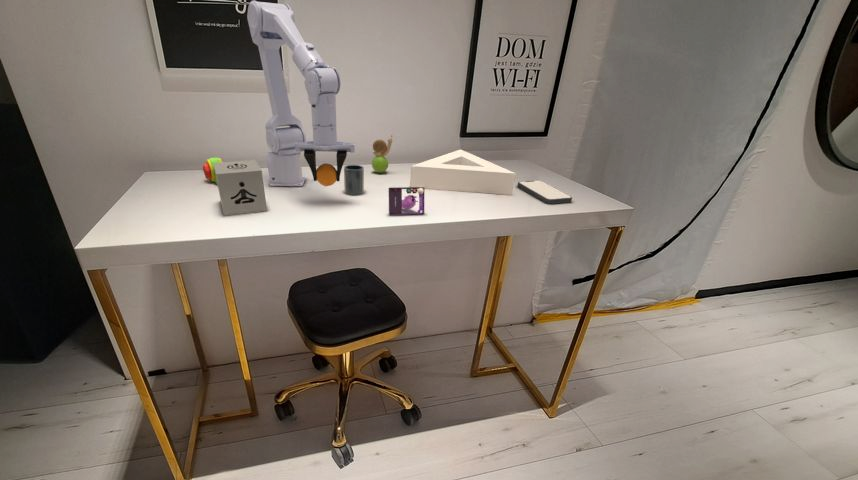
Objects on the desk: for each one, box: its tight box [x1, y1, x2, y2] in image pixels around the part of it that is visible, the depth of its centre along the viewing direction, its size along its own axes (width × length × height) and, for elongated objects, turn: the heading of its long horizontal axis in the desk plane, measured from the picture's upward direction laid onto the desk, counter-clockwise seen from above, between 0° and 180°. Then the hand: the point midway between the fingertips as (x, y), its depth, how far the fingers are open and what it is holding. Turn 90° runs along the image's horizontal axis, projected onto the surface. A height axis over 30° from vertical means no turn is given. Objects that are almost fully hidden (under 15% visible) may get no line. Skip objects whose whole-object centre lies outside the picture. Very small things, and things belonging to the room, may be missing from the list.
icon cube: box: [213, 159, 268, 217], centre depth 96 cm, size 10×10×10 cm
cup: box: [343, 164, 365, 196], centre depth 110 cm, size 5×5×7 cm
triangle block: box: [409, 149, 517, 196], centre depth 120 cm, size 30×26×6 cm
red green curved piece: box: [202, 157, 223, 186], centre depth 116 cm, size 6×19×7 cm, turn 33°
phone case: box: [516, 179, 573, 205], centre depth 116 cm, size 9×2×16 cm
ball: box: [316, 163, 337, 187], centre depth 100 cm, size 6×6×6 cm
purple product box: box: [388, 186, 425, 216], centre depth 99 cm, size 7×5×9 cm
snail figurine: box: [371, 134, 393, 174], centre depth 126 cm, size 5×6×12 cm
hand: (326, 180), depth 101 cm, fingers closed on ball, 5 cm apart
